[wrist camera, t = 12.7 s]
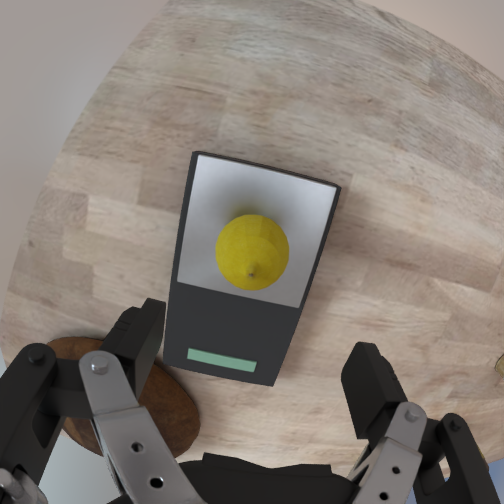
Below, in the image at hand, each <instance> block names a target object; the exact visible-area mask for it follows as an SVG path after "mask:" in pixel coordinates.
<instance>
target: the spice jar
mask: <svg viewBox="0 0 504 504" xmlns="http://www.w3.org/2000/svg"><path fill="white" fill-rule="evenodd" d="M495 369H496V371H497V372H498V373H499V374H500V375H501V377H502V378H503V379H504V355H503V356H502V357H501V358H500V360H499V361H498V362H497V365H496V368H495Z"/></svg>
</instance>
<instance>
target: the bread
mask: <svg viewBox="0 0 504 504" xmlns="http://www.w3.org/2000/svg"><path fill="white" fill-rule="evenodd" d="M102 343H103V341H100V340H95V339H90V338H84V337H64V338H60V339H56V340H53V341H51V342H50V343H48V344H46V345H48V346H50V347H51V348H52V349H53V350H54V351H55V353H56V358H63V359H72V360H80V359H81V357H82V356H83V355H85V354H86V353H88V352H91V351H97V350H98V349H99V347H100V346H101V344H102ZM138 404H139V405H140V406H142V405H143V406H145V407H146V409H147V410H148V412H149V414H150V416H151V418H152V419H153V421H154V423H155V425H156V427H157V429H158V430H159V432H160V434H161V436H162V438H163V439H164V441H165V443H166V445H167V446H168V448H169V450H170V451H171V453H172V455H173V456H174V458H176V457H178V456H180V455H182V454H183V453H184V452H185V451H187V450H188V449H189V448H190V446H191V445H192V443H193V442H194V440H195V439H196V437H197V436H198V433H199V429H200V421H199V416H198V412H197V409H196V407H195V405H194V404H193V402H192V400H191V399H190V398H189V396H188V395H187V394H186V393H185V391H184V390H183V389H182V388H181V387H180V386H179V384H178V383H177V382H176V381H175V380H174V379H173V378H172V377H170V376H169V375H168V374H167V373H166V372H165V371H163V370H162V369H161V368H159V367H157V366H156V365H154V364H153V365H152V368H151V370H150V372H149V375H148V377H147V380H146V382H145V385H144V387H143V390H142V392H141V395H140V397H139V400H138ZM62 429H63V430H64V431H65V432H66V433H67V434H68V435H69V436H70V437H71V438H72V439H73V440H74V441H75V442H77V443H78V444H79V445H81V446H83V447H84V448H86V449H88V450H90V451H92V452H94V453H95V454H98V455H100V456H103V457H104V455H103V453H102V451H101V448H100V445H99V443H98V440H97V438H96V435H95V432H94V429H93V427H92V424H91V421H90V420H89V419H79V418H70V417H67V418H66V420H65V423H64V425H63V427H62Z"/></svg>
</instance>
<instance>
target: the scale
mask: <svg viewBox="0 0 504 504" xmlns="http://www.w3.org/2000/svg"><path fill="white" fill-rule="evenodd" d="M201 154H202V155H207V156H212V157H217V158H222V159H226V160H231V161H236V162H240V163H245V164H249V165H254V166H258V167H262V168H267V169H271V170H275V171H279V172H283V173H287V174H291V175H295V176H299V177H302V178H306V179H310V180H313V181H317V182H321V183H324V184H328V185H331V186H335V187H336V188H337V189H336V193H335V196H334V200H333V203H332V207H331V210H330V213H329V217H328V220H327V223H326V227H325V230H324V233H323V236H322V240H321V243H320V246H319V249H318V252H317V255H316V259H315V262H314V265H313V268H312V271H311V274H310V277H309V280H308V283H307V286H306V289H305V292H304V295H303V298H302V300H301V303H300V306H299V308H296V307H291V306H286V305H281V304H276V303H271V302H266V301H261V300H257V299H252V298H247V297H242V296H238V295H233V294H229V293H224V292H220V291H215V290H211V289H207V288H202V287H198V286H194V285H189V284H185V283H181V282H177V278H178V270H179V264H180V257H181V250H182V244H183V238H184V232H185V226H186V220H187V214H188V208H189V203H190V197H191V192H192V187H193V181H194V176H195V171H196V166H197V161H198V156H199V155H201ZM340 191H341V187H340V186H338V185H337V184H335V183H331V182H328V181H324V180H321V179H317V178H313V177H310V176H306V175H302V174H298V173H295V172H291V171H287V170H283V169H279V168H275V167H271V166H266V165H262V164H258V163H254V162H249V161H245V160H240V159H236V158H231V157H226V156H221V155H217V154H212V153H207V152H201V151H194V152H192V156H191V161H190V166H189V171H188V176H187V182H186V187H185V193H184V198H183V204H182V210H181V216H180V222H179V228H178V234H177V241H176V247H175V254H174V261H173V269H172V276H171V284H170V292H169V301H168V310H167V319H166V329H165V340H164V351H163V364H165V365H169V366H173V367H177V368H181V369H185V370H189V371H194V372H198V373H202V374H207V375H211V376H216V377H221V378H226V379H231V380H236V381H242V382H247V383H253V384H259V385H265V386H272V387H273V385H274V383H275V380H276V378H277V375H278V373H279V370H280V368H281V365H282V363H283V360H284V358H285V355H286V353H287V350H288V347H289V345H290V342H291V339H292V337H293V334H294V331H295V329H296V326H297V323H298V321H299V318H300V315H301V312H302V310H303V307H304V304H305V301H306V298H307V295H308V292H309V290H310V287H311V284H312V281H313V278H314V275H315V272H316V269H317V266H318V263H319V260H320V257H321V254H322V251H323V248H324V244H325V241H326V238H327V235H328V232H329V228H330V225H331V222H332V219H333V215H334V212H335V209H336V205H337V202H338V198H339V195H340Z"/></svg>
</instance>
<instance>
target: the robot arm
mask: <svg viewBox="0 0 504 504" xmlns="http://www.w3.org/2000/svg"><path fill="white" fill-rule="evenodd" d="M165 312H166V302H163V301H159V300H155V299H151V298H147V299H146V301H145V303H144V304H143V306H142V307H141V308H137V307H133V306H132V307H131V308H129V309H127V310H126V311H124V312H123V313H122V314H121V316H120V317H119V319H118V321H117V322H116V323H115V325H114V327H113V328H112V329H111V331H110V332H109V334H108V335H107V337H106V338H105V340H104V341H103V343H102V344H101V346H100V347H99V349H98V350H97V351H91V352H88V353H86V354H85V355H83V356H82V357H81V359H80V360H72V359H63V358H56V353H55V351H54V350H53V349H52V348H51V347H50V346H48V345H46V344H42V343H33V344H29V345H27V346H25V347H24V348H23V349H22V350H21V351H20V352H19V354H18V355H17V356H16V357H15V359H14V360H13V361H12V363H11V364H10V366H9V367H8V368H7V370H6V371H5V372H4V374H3V375H2V377H1V378H0V504H48V501H47V498H46V496H45V495H44V493H43V492H42V491H41V490H40V489H39V487H38V485H39V483H40V480H41V477H42V475H43V472H44V470H45V467H46V465H47V462H48V460H49V457H50V455H51V452H52V450H53V448H54V445H55V443H56V441H57V438H58V436H59V434H60V432H61V429H62V427H63V425H64V423H65V420H66V418H67V417H70V418H79V419H89V420H90V421H91V424H92V427H93V429H94V432H95V435H96V438H97V440H98V443H99V445H100V448H101V451H102V453H103V455H104V458H105V460H106V463H107V466H108V468H109V471H110V473H111V476H112V478H113V480H114V482H115V485H116V487H117V489H118V491H119V493H120V495H121V496H120V497H118V498H116V499H114V500H113V501H111V502H109V503H107V504H405V503H406V500H407V498H408V496H409V493H410V491H411V488H412V486H413V490H414V494H415V498H416V502H417V504H501V503H500V500H499V498H498V495H497V492H496V490H495V487H494V485H493V482H492V480H491V477H490V474H489V472H488V469H487V467H486V465H485V462H484V460H483V458H482V455H481V453H480V451H479V449H478V446H477V444H476V442H475V440H474V438H473V436H472V433H471V431H470V429H469V427H468V425H467V423H466V422H465V420H464V419H463V418H462V417H461V416H459V415H457V414H455V413H448V414H446V415H445V416H444V417H443V418H442V419H441V420H440V421H438V420H434V419H430V418H427V415H426V413H425V411H424V410H423V409H422V408H421V407H420V406H419V405H417V404H415V403H413V402H408V400H407V397H406V395H405V393H404V391H403V389H402V387H401V385H400V383H399V381H398V380H397V379H398V378H397V376H396V374H394V370H393V368H392V366H391V364H390V363H389V362H388V361H387V360H386V359H385V358H384V357H383V356H381V354H380V352H379V350H378V348H377V346H376V345H375V344H373V343H366V342H357V343H356V344H355V346H354V348H353V350H352V352H351V354H350V356H349V358H348V360H347V362H346V363H345V365H344V367H343V370H342V373H341V382H342V386H343V389H344V393H345V396H346V400H347V403H348V407H349V411H350V414H351V418H352V422H353V425H354V429H355V433H356V437H357V439H368V441H369V443H368V444H367V445H366V446H365V448H364V450H363V451H362V453H361V455H360V457H359V458H358V460H357V462H356V463H355V465H354V466H353V468H352V470H351V471H350V473H349V474H348V476H347V477H346V478H345V477H342V476H340V475H337V474H334V473H332V471H331V465H324V464H298V465H292V466H286V467H280V468H266V467H263V466H260V465H257V464H254V463H251V462H248V461H245V460H242V459H239V458H235V457H229V456H222V455H217V454H211V453H206V452H204V454H203V458H202V460H194V461H187V462H182V463H177V461H176V460H175V458H174V456H173V455H172V453H171V451H170V450H169V448H168V446H167V445H166V443H165V441H164V439H163V438H162V436H161V434H160V432H159V430H158V429H157V427H156V425H155V423H154V421H153V419H152V418H151V416H150V414H149V412H148V410H147V409H146V407H145V406H143V405H142V406H140V405H139V404H138V400H139V397H140V395H141V392H142V390H143V387H144V385H145V382H146V380H147V377H148V375H149V372H150V370H151V368H152V365H153V363H154V360H155V358H156V355H157V353H158V351H159V348H160V346H161V342H162V338H163V331H164V321H165ZM445 456H446V459H447V462H448V465H449V467H450V471H451V473H450V477H449V479H448V481H446V482H445V480H444V477H443V474H442V471H441V468H440V465H439V462H440V461H441V460H442V459H443V458H444V457H445Z"/></svg>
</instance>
